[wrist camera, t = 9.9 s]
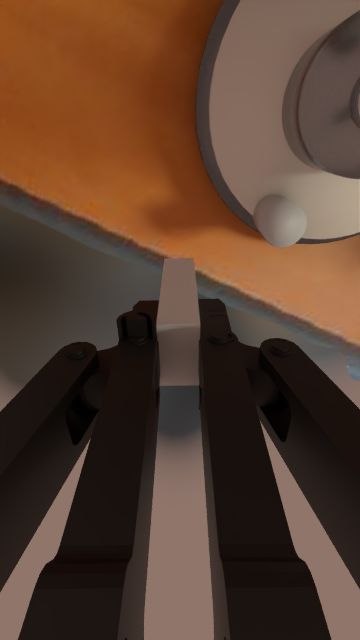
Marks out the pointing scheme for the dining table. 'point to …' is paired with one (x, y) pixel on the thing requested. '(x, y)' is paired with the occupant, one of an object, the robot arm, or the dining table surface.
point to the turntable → (275, 122)
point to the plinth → (203, 119)
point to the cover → (327, 102)
